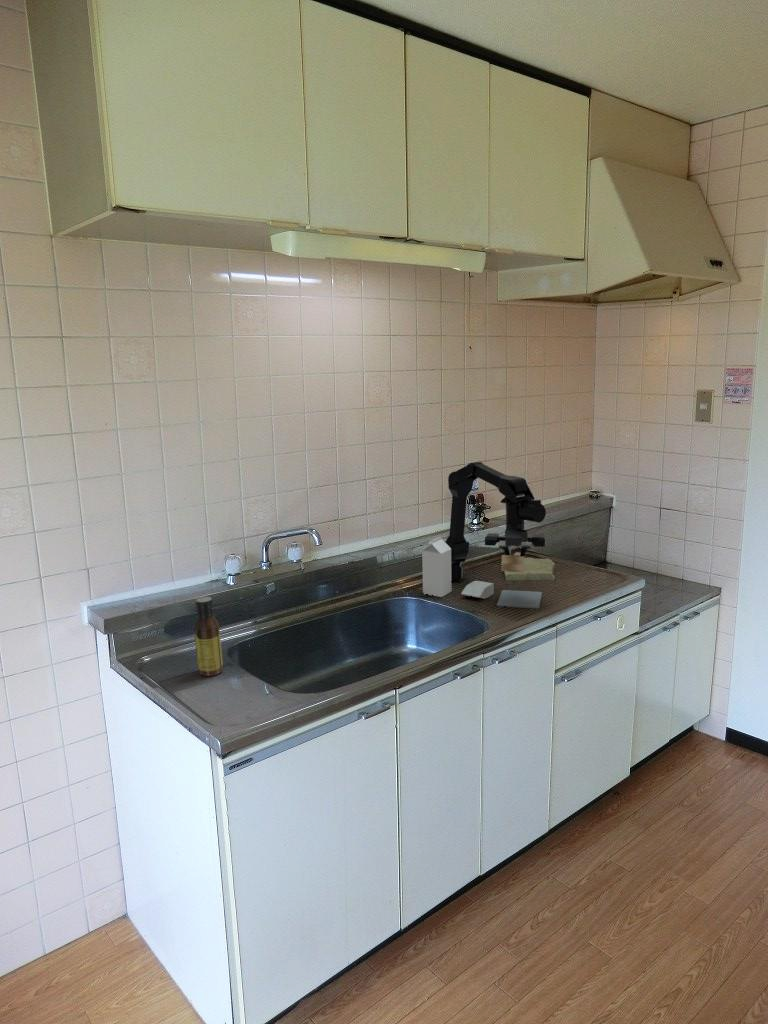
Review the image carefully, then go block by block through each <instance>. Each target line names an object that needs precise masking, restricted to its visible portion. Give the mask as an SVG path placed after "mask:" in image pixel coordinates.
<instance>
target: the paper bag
mask: <svg viewBox="0 0 768 1024" xmlns="http://www.w3.org/2000/svg"><path fill="white" fill-rule="evenodd" d="M494 587H495V586H494V583H493V582H486V581H481V580H474V581H472V582H470V583H468V584H467V585H466V586H465V587H464V589H463V590H462V592H461V593H460V595H462V596H467V597H471V596H472V598H478V599H483V600H485V598H486V599H487V598H489V597H491V596H492V595H494V592H495V591H494Z"/></svg>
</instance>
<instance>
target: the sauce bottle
mask: <svg viewBox="0 0 768 1024" xmlns="http://www.w3.org/2000/svg"><path fill="white" fill-rule="evenodd" d="M195 607H196V610H197V614H196V615H197V617H196V621H195V624H194V630H193V634H194V642H195V643H194V645H195V653H196V662H197V663H196V664H197V668H198V673H199V675H201V676H203V677H204V676H205V677H214V676H216V675H219V674H220V673H222V672H223V670H224V669H223V665H224V662H223V650H222V642H221V632H220V626H219V625H220V624H219V622H218V620H217V618H216V617H215V616H214V612H213V599H212V597H211V596H201V597H198V598H196V600H195Z"/></svg>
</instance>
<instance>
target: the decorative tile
mask: <svg viewBox="0 0 768 1024" xmlns="http://www.w3.org/2000/svg"><path fill="white" fill-rule="evenodd" d="M555 565H556V563H555V562H554V561H553V560H552V559H550V558H534V557H525V561H524V573H520V572H508V571H503V574H504V579H505V581H554V580H556V577H555V574H554V573H555ZM553 572H554V573H553Z"/></svg>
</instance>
